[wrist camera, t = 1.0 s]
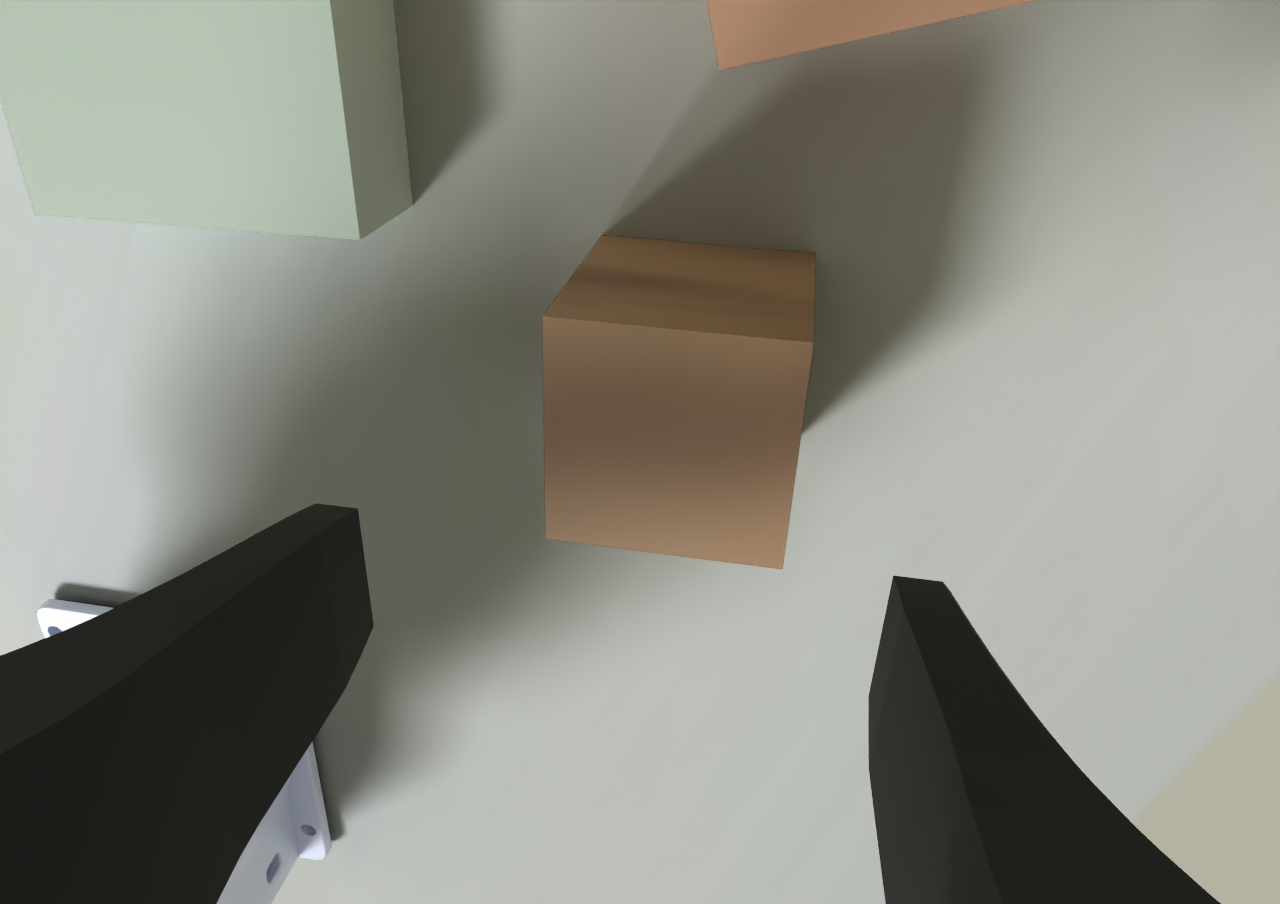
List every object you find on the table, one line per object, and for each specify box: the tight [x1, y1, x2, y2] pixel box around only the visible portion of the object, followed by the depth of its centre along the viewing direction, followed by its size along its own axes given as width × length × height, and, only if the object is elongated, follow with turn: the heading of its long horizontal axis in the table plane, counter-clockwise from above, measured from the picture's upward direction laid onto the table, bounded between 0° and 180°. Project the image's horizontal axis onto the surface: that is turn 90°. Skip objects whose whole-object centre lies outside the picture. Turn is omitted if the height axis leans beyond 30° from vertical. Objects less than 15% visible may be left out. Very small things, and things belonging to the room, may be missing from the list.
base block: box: [0, 0, 413, 240], centre depth 18 cm, size 7×7×3 cm
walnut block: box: [542, 235, 815, 569], centre depth 19 cm, size 4×4×5 cm
